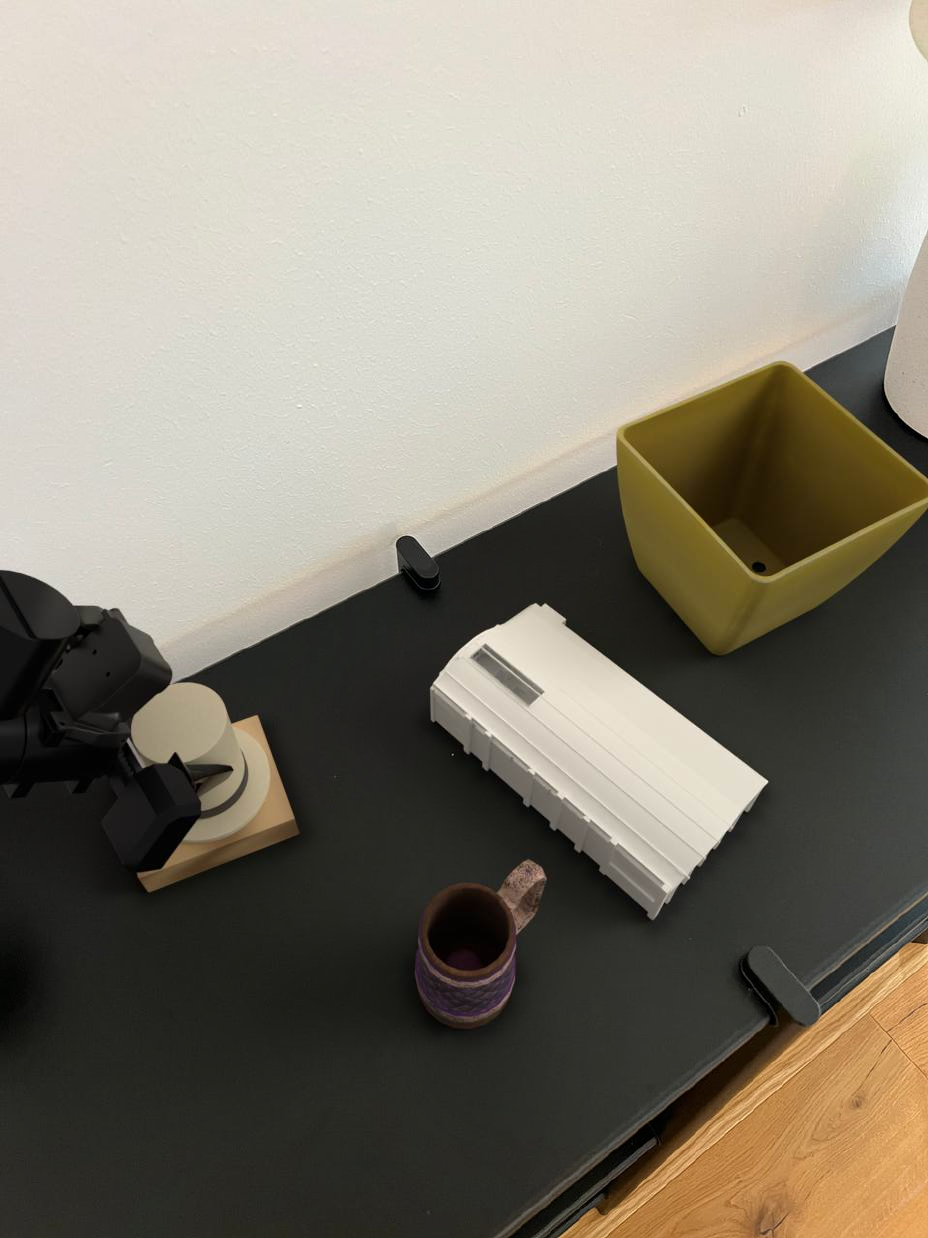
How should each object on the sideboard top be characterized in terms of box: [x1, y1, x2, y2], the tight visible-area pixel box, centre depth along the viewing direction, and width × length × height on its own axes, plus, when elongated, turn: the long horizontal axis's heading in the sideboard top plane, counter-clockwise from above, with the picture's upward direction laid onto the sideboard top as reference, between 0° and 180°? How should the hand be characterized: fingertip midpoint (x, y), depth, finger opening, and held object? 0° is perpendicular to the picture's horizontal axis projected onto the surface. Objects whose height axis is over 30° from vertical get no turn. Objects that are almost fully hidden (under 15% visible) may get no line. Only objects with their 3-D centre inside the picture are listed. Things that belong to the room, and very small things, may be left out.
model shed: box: [429, 602, 769, 921], centre depth 77 cm, size 25×15×7 cm, turn 45°
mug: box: [414, 858, 548, 1030], centre depth 65 cm, size 10×7×12 cm
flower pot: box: [615, 360, 928, 656], centre depth 84 cm, size 19×19×17 cm
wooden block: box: [136, 714, 300, 893], centre depth 75 cm, size 12×10×3 cm
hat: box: [130, 682, 271, 843], centre depth 71 cm, size 10×10×10 cm
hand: (205, 733), depth 70 cm, fingers open, 7 cm apart
